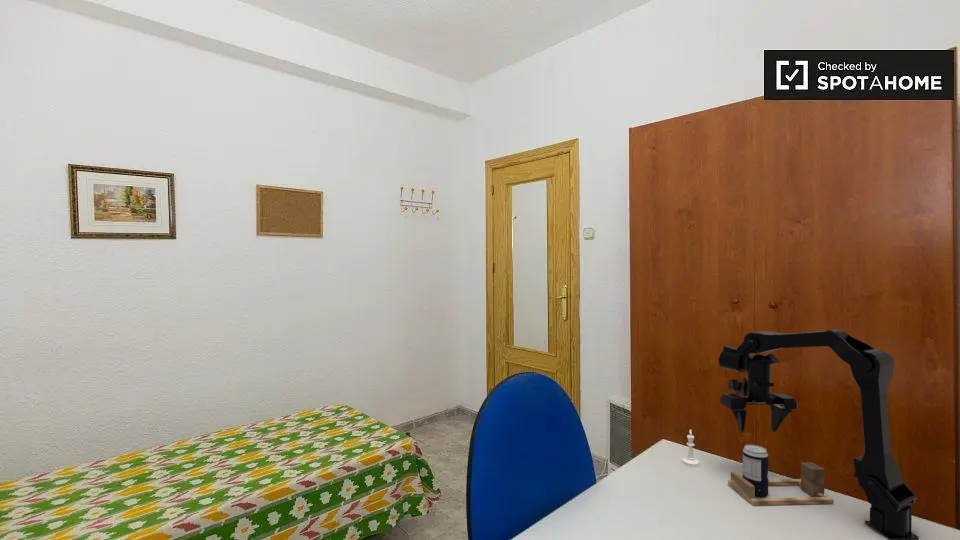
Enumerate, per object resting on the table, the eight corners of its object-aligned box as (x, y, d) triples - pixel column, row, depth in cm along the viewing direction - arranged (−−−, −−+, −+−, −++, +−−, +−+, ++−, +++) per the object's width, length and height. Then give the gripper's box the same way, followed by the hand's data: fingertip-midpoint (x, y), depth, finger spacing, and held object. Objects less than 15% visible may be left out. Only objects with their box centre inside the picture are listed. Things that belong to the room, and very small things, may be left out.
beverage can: (772, 501, 110) (772, 454, 110) (747, 499, 111) (747, 452, 111) (762, 490, 116) (763, 444, 115) (739, 488, 117) (739, 443, 117)
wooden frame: (802, 482, 119) (802, 457, 119) (834, 503, 109) (834, 475, 109) (727, 484, 118) (727, 458, 118) (753, 505, 108) (753, 476, 108)
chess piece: (682, 465, 130) (682, 431, 130) (680, 458, 135) (680, 426, 135) (701, 467, 129) (701, 433, 128) (698, 460, 133) (698, 427, 133)
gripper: (771, 369, 131) (770, 420, 132) (710, 369, 131) (709, 421, 131) (799, 379, 120) (798, 435, 121) (732, 379, 120) (731, 436, 120)
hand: (757, 431), depth 124 cm, fingers open, 9 cm apart
